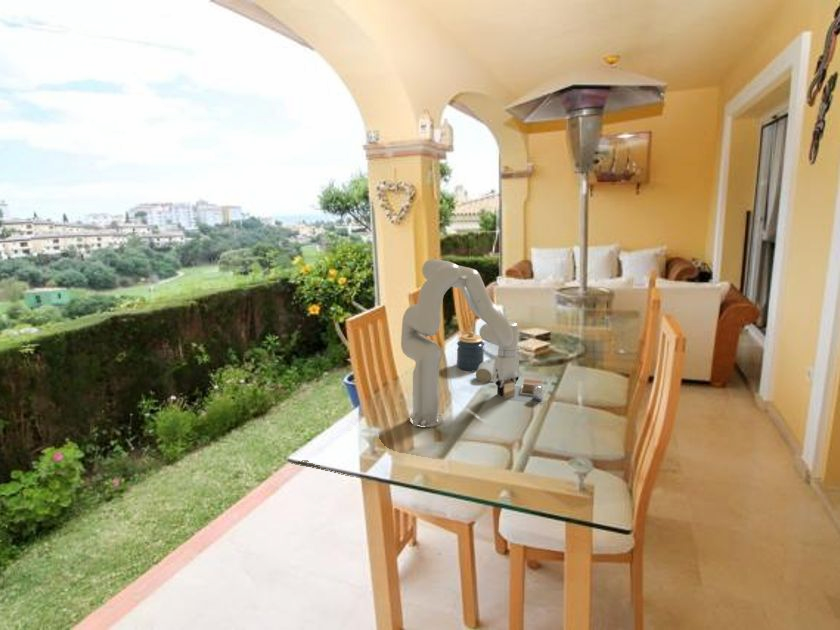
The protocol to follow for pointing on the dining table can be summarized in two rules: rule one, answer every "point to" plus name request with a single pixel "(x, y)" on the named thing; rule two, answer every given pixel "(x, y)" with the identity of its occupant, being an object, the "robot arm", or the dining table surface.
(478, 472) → the dining table surface
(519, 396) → the slate board
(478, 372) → the ceramic mug
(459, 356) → the canister
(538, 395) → the grey block
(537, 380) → the walnut block
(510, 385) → the beech block
